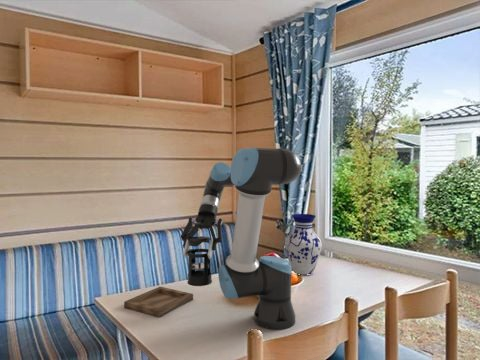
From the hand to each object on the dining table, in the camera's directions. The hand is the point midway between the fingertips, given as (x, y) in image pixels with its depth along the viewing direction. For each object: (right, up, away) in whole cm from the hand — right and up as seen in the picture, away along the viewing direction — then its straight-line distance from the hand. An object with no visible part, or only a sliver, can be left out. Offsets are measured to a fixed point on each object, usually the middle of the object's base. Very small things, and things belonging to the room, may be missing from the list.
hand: (196, 256), depth 145 cm
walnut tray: (-17, -22, +13) cm, 30 cm away
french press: (0, -11, +4) cm, 11 cm away
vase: (+49, -20, +57) cm, 78 cm away
